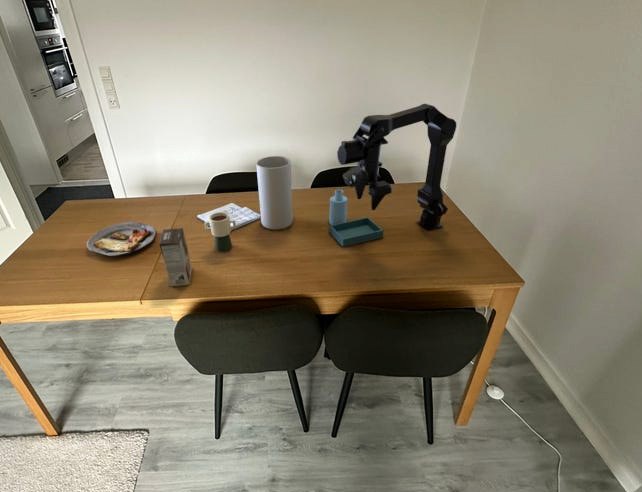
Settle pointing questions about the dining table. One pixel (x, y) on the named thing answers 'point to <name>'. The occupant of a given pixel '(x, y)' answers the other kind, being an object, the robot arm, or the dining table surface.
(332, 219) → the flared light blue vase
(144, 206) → the dining table surface
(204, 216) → the white printed square slab
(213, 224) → the character mug
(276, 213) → the cylinder vase
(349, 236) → the teal open tray
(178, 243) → the coffee box
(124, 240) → the food plate
